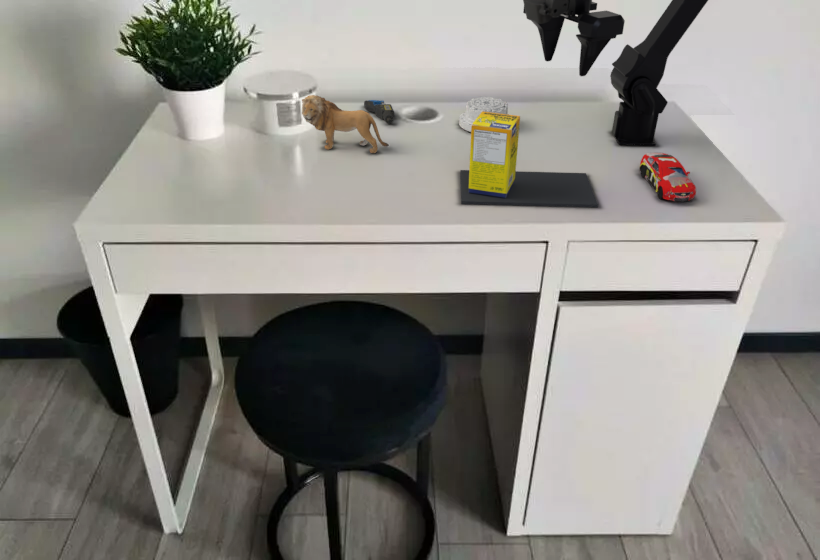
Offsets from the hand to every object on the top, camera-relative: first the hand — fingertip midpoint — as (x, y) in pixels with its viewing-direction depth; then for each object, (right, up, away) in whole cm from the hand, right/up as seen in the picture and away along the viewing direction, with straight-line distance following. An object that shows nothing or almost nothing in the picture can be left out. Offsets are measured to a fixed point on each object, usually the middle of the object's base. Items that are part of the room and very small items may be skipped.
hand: (564, 68), depth 118 cm
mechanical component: (-12, -7, +14) cm, 19 cm away
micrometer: (-32, -4, +18) cm, 36 cm away
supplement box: (-13, -21, -10) cm, 27 cm away
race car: (+14, -21, -7) cm, 26 cm away
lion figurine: (-37, -13, +4) cm, 40 cm away
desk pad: (-8, -21, -9) cm, 24 cm away
